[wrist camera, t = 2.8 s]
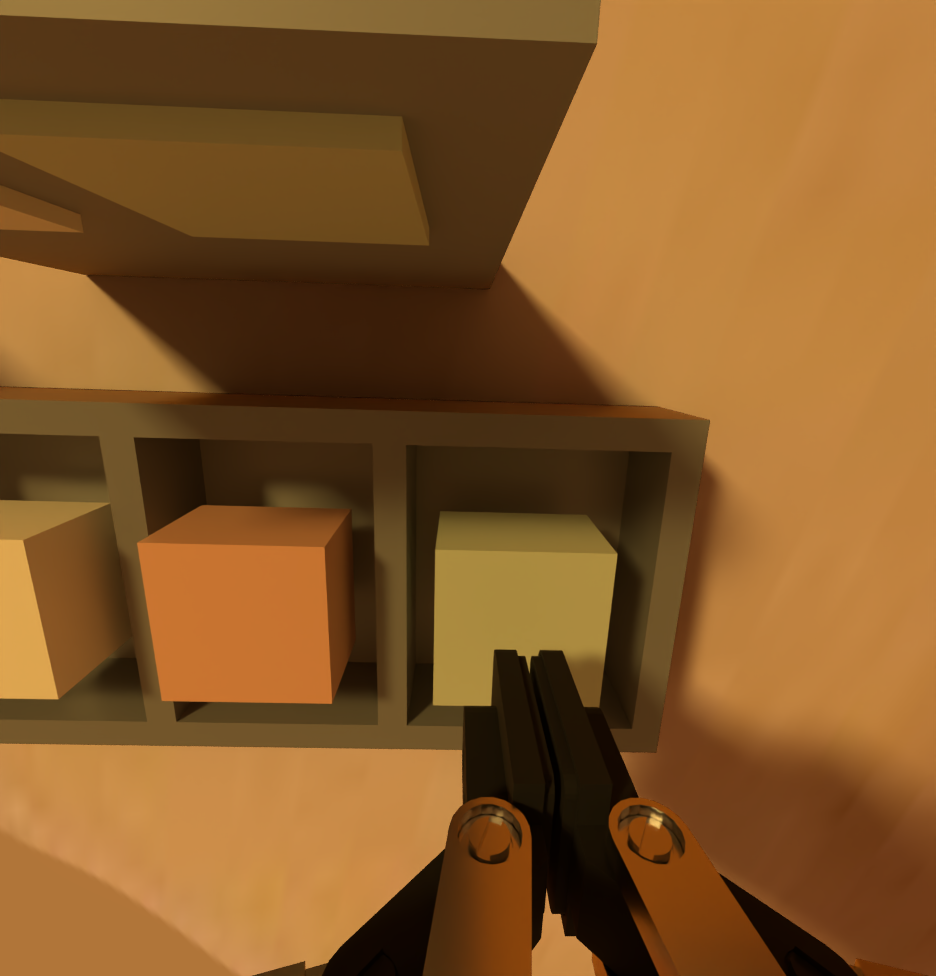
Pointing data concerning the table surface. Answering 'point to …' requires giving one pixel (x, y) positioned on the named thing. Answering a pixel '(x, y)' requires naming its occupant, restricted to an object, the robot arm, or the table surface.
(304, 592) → the terracotta key
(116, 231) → the card
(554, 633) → the olive square block
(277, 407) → the key pad frame
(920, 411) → the table surface
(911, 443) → the table surface
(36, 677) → the tan square block
